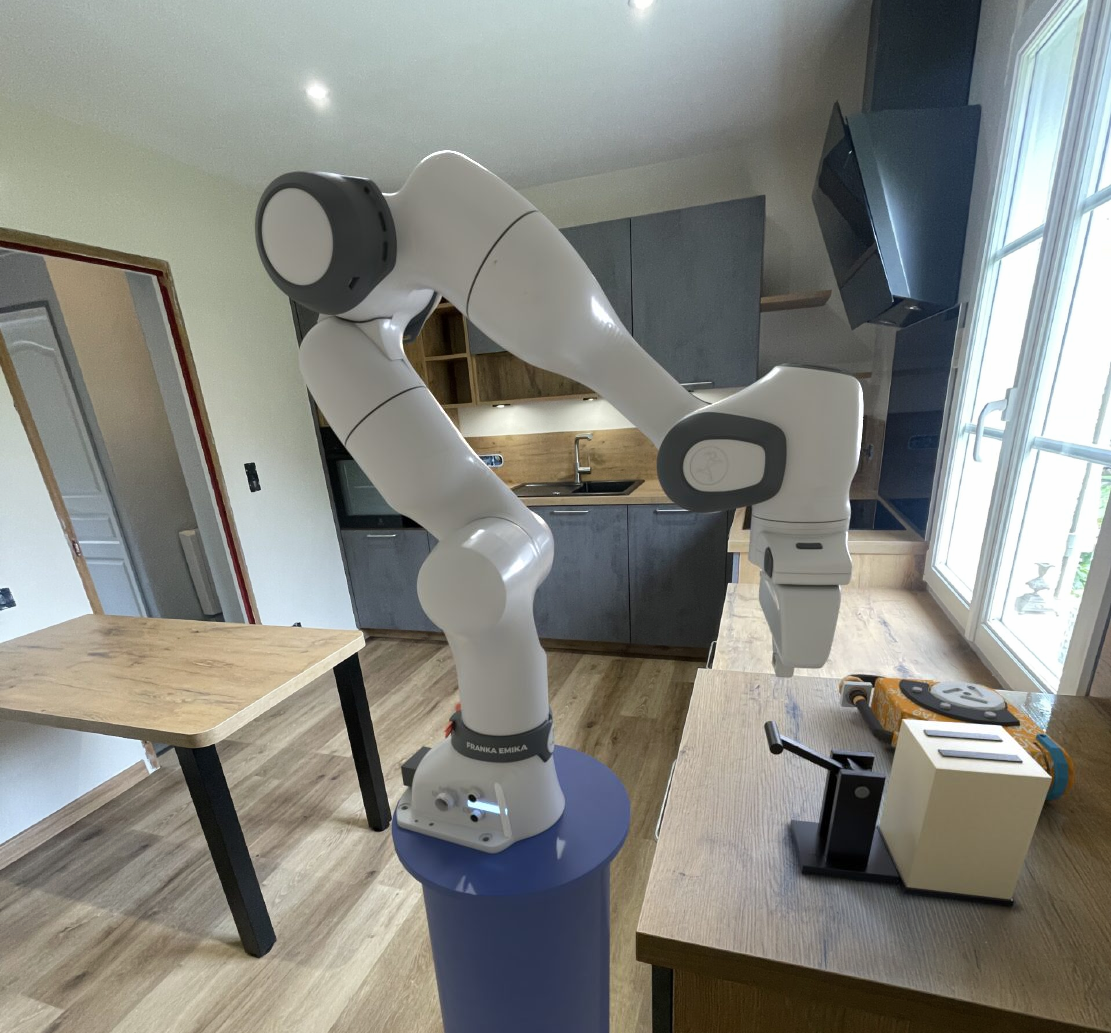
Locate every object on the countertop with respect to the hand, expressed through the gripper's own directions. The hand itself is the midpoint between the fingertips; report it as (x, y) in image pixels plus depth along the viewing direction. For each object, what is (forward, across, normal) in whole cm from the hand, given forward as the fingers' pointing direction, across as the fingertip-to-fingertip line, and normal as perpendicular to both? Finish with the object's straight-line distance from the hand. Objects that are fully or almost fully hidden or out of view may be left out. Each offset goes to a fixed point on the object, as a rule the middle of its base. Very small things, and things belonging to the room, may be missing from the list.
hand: (781, 671), depth 62 cm
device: (+24, -27, +28) cm, 45 cm away
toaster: (+24, 0, +19) cm, 30 cm away
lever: (+11, 0, +4) cm, 12 cm away
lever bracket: (+23, 0, +9) cm, 25 cm away
